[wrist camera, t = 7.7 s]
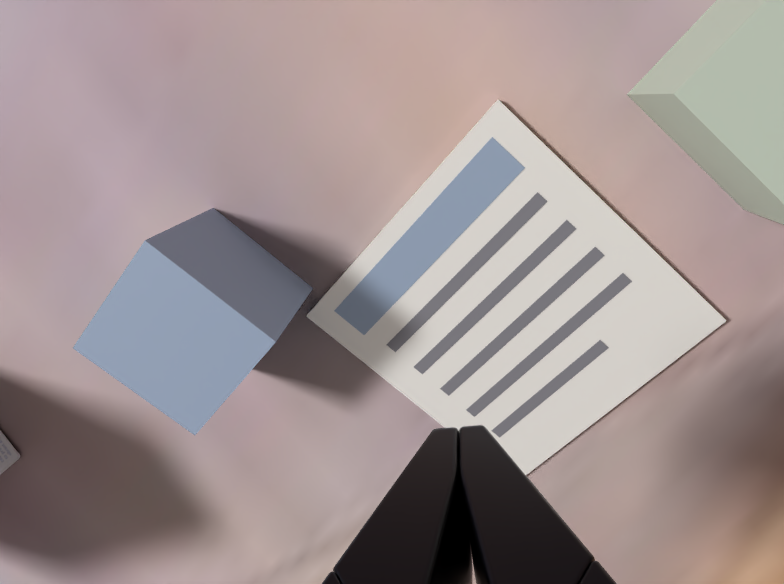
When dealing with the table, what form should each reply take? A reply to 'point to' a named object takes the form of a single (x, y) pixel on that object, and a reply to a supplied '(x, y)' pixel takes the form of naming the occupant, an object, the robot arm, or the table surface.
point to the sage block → (727, 100)
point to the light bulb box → (7, 453)
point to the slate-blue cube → (193, 317)
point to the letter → (513, 297)
